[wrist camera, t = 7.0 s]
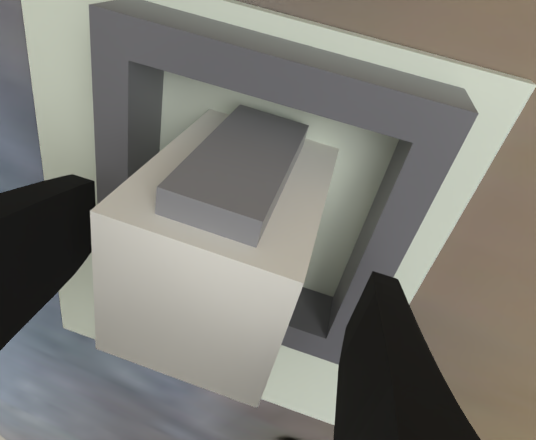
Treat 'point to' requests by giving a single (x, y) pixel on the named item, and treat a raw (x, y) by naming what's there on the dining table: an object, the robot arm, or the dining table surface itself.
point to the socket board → (287, 106)
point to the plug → (211, 250)
